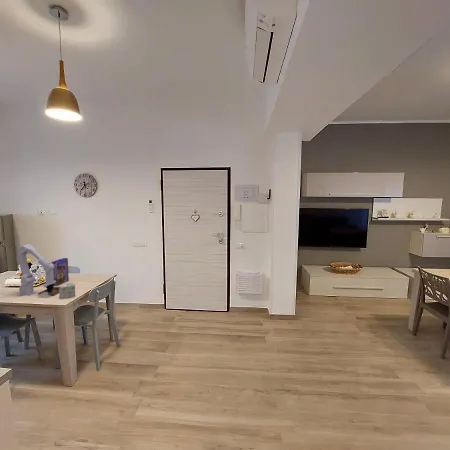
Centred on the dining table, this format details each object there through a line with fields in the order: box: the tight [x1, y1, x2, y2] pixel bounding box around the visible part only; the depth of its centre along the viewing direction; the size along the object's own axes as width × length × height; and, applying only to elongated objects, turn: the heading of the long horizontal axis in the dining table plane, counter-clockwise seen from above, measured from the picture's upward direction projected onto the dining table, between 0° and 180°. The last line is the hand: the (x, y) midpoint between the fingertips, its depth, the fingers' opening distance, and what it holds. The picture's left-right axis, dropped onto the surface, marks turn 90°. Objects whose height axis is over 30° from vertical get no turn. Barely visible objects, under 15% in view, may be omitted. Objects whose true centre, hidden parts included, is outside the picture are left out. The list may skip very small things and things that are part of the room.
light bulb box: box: [58, 282, 76, 300], centre depth 224 cm, size 11×7×11 cm, turn 141°
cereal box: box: [50, 257, 70, 287], centre depth 261 cm, size 17×5×24 cm, turn 178°
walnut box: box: [37, 286, 59, 297], centre depth 233 cm, size 13×17×3 cm
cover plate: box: [37, 292, 54, 299], centre depth 225 cm, size 9×8×2 cm
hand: (50, 292), depth 230 cm, fingers closed
